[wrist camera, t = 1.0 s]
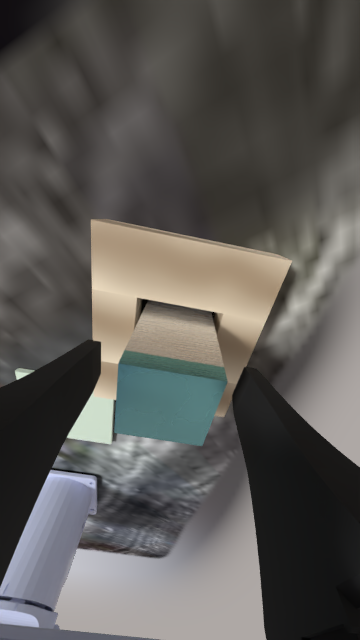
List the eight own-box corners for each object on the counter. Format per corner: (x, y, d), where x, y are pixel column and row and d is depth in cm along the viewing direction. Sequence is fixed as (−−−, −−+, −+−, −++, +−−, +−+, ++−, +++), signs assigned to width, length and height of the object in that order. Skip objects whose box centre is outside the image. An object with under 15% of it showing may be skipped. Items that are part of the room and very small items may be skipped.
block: (196, 353, 15) (202, 445, 9) (144, 344, 15) (114, 432, 9) (209, 305, 14) (227, 381, 7) (150, 294, 13) (118, 363, 7)
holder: (220, 396, 17) (224, 417, 16) (103, 377, 17) (93, 396, 15) (276, 254, 12) (292, 260, 10) (106, 219, 11) (90, 219, 10)
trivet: (112, 440, 21) (111, 444, 20) (32, 428, 20) (30, 432, 20) (115, 383, 17) (113, 387, 17) (18, 367, 17) (14, 371, 16)
